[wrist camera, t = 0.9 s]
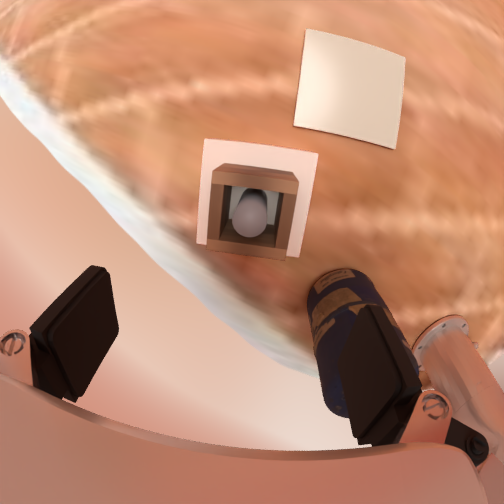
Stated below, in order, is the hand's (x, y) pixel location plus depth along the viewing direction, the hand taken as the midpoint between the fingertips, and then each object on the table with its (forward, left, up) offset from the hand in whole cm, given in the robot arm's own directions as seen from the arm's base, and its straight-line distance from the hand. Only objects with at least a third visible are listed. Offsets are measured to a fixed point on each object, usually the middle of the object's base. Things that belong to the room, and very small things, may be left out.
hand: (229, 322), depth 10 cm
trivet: (-9, -14, -23) cm, 28 cm away
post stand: (0, 0, -23) cm, 23 cm away
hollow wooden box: (0, 0, -19) cm, 19 cm away
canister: (-13, +12, -23) cm, 29 cm away
